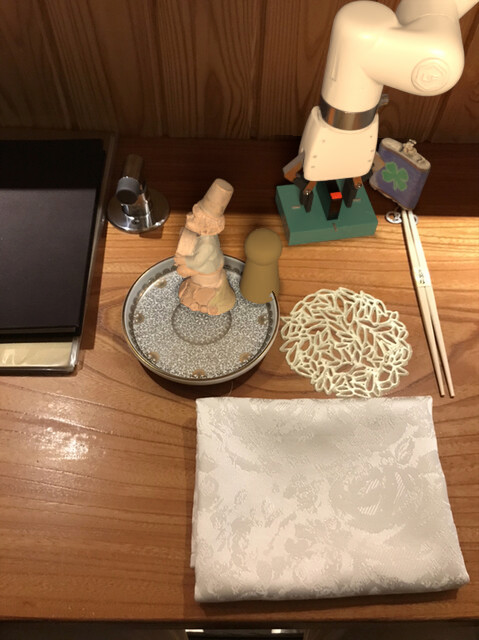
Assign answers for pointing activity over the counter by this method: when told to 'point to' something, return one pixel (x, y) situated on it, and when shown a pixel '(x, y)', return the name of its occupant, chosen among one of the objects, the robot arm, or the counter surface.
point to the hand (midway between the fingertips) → (326, 202)
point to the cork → (261, 266)
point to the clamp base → (323, 217)
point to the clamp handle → (329, 198)
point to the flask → (400, 173)
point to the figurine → (205, 254)
